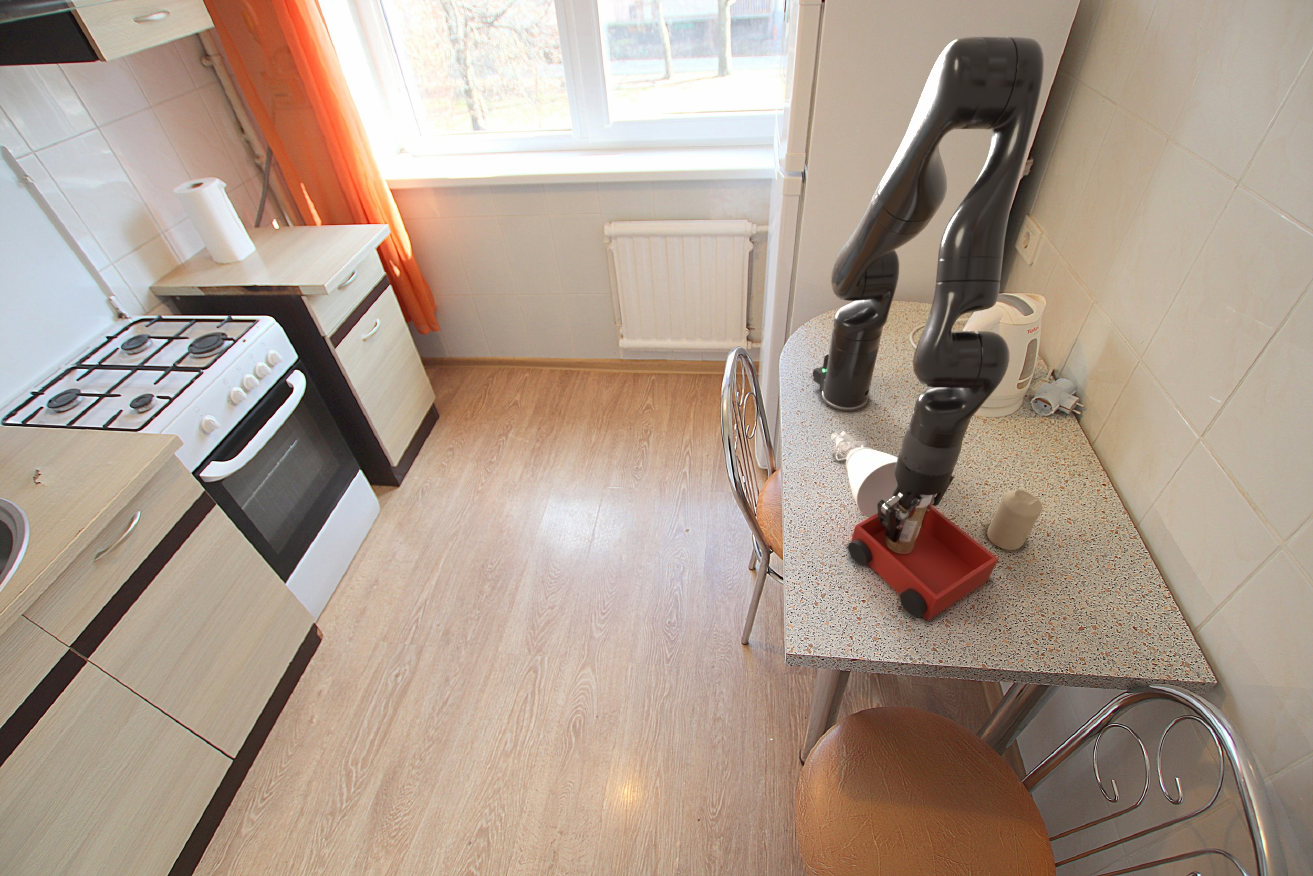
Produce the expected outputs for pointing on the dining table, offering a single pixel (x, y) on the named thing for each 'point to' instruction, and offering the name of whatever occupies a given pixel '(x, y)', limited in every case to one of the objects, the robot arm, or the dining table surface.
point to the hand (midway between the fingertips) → (902, 531)
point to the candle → (1014, 519)
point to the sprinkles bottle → (909, 528)
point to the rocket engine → (867, 473)
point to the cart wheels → (908, 598)
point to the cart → (930, 561)
